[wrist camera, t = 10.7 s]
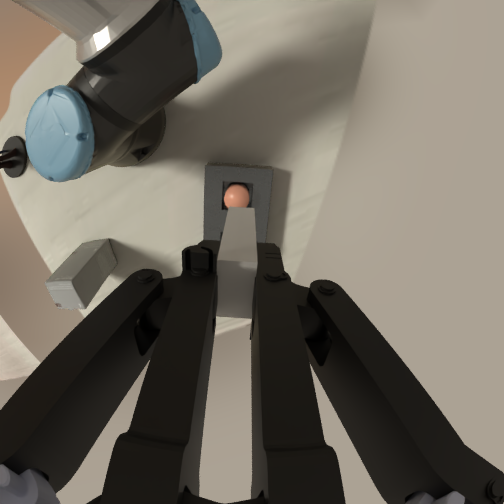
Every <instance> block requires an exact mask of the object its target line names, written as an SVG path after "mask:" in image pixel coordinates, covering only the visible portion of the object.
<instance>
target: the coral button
mask: <svg viewBox="0 0 504 504" xmlns="http://www.w3.org/2000/svg"><path fill="white" fill-rule="evenodd" d="M224 202H225V205H226V206H227V207H228V208H229V206H230V207H245V208H246V207H247V205H248V203H249V190H248V188H247V187H246V186H245V185H244V184H242V183H233V184H231V185H230V186H229V187H228V188H227V190H226V193H225V197H224Z"/></svg>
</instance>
